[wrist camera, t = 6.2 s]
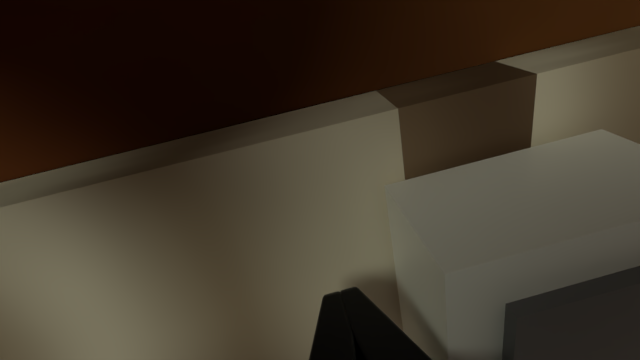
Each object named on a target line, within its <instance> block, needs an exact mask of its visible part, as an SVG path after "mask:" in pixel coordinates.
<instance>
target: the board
mask: <svg viewBox="0 0 640 360" xmlns="http://www.w3.org/2000/svg"><path fill="white" fill-rule="evenodd" d="M600 129H603V130H605V131H608V132H610V133H613V134H615V135H618V136H620V137H623V138H625V139H628V140H630V141H633V142H635V143H638V144H640V26H637V27H633V28H629V29H625V30H621V31H617V32H613V33H608V34H604V35H600V36H596V37H592V38H588V39H584V40H580V41H576V42H572V43H568V44H564V45H560V46H555V47H551V48H547V49H543V50H539V51H535V52H531V53H527V54H523V55H519V56H515V57H511V58H507V59H503V60H498V61H494V62H490V63H486V64H482V65H478V66H474V67H470V68H466V69H462V70H458V71H454V72H450V73H446V74H441V75H437V76H433V77H429V78H425V79H421V80H417V81H413V82H409V83H405V84H401V85H397V86H393V87H389V88H384V89H380V90H376V91H372V92H368V93H364V94H360V95H356V96H352V97H348V98H344V99H340V100H336V101H332V102H327V103H323V104H319V105H315V106H311V107H307V108H303V109H299V110H295V111H291V112H287V113H283V114H279V115H275V116H270V117H266V118H262V119H258V120H254V121H250V122H246V123H242V124H238V125H234V126H230V127H226V128H222V129H217V130H213V131H209V132H205V133H201V134H197V135H193V136H189V137H185V138H181V139H177V140H173V141H169V142H165V143H160V144H156V145H152V146H148V147H144V148H140V149H136V150H132V151H128V152H124V153H120V154H116V155H112V156H108V157H103V158H99V159H95V160H91V161H87V162H83V163H79V164H75V165H71V166H67V167H63V168H59V169H55V170H51V171H46V172H42V173H38V174H34V175H30V176H26V177H22V178H18V179H14V180H10V181H6V182H2V183H0V360H309V357H310V352H311V348H312V343H313V338H314V334H315V329H316V325H317V320H318V316H319V311H320V307H321V302H322V298H323V296H324V295H325V294H329V293H333V292H336V291H341V290H344V289H347V288H351V287H357V288H359V289H360V290H361V291H362V292H363V293H364V294H365V295H366V296H367V297H368V298H369V299H370V300H371V301H372V302H373V303H374V304H375V305H376V306H377V307H378V308H379V309H381V310H382V311H383V312H384V313H385V314H386V315H387V316H388V317H389V318H390V319H391V320H392V321H393V322H394V323H395V324H396V325H397V326H398V327H399V328H400V329H401V330H402V331H403V326H402V318H401V310H400V303H399V295H398V287H397V279H396V272H395V264H394V256H393V249H392V241H391V233H390V226H389V218H388V210H387V203H386V195H385V187H384V186H385V185H388V184H392V183H396V182H400V181H404V180H408V179H411V178H415V177H419V176H423V175H427V174H431V173H435V172H438V171H442V170H446V169H450V168H454V167H458V166H461V165H465V164H469V163H473V162H477V161H481V160H484V159H488V158H492V157H496V156H500V155H504V154H508V153H511V152H515V151H519V150H523V149H527V148H531V147H534V146H538V145H542V144H546V143H550V142H554V141H558V140H561V139H565V138H569V137H573V136H577V135H581V134H584V133H588V132H592V131H596V130H600Z"/></svg>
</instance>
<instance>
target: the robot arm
mask: <svg viewBox="0 0 640 360" xmlns="http://www.w3.org/2000/svg"><path fill="white" fill-rule="evenodd" d="M309 360H432V359H431V358H430V357H429V356H428V355H427V354H426V353H425V352H424V351H423V350H422V349H421V348H420V347H419V346H418V345H417V344H416V343H415V342H413V341H412V340H411V339H410V338H409V337H408V336H407V335H406V334H405V333H404V332H403V331H402V330H401V329H400V328H399V327H398V326H397V325H396V324H395V323H394V322H393V321H392V320H391V319H390V318H389V317H388V316H387V315H386V314H385V313H384V312H383V311H382V310H381V309H379V308H378V307H377V306H376V305H375V304H374V303H373V302H372V301H371V300H370V299H369V298H368V297H367V296H366V295H365V294H364V293H363V292H362V291H361V290H360V289H359V288H357V287H351V288H347V289H344V290H341V291H336V292H333V293H329V294H325V295H324V296H323V298H322V302H321V307H320V311H319V316H318V320H317V325H316V329H315V334H314V338H313V343H312V348H311V352H310V357H309Z"/></svg>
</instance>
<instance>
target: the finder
mask: <svg viewBox="0 0 640 360" xmlns="http://www.w3.org/2000/svg"><path fill="white" fill-rule="evenodd" d="M384 187H385V195H386V203H387V210H388V218H389V226H390V233H391V241H392V249H393V256H394V264H395V272H396V279H397V287H398V295H399V303H400V310H401V318H402V326H403V332H404V333H405V334H406V335H407V336H408V337H409V338H410V339H411V340H412V341H413V342H415V343H416V344H417V345H418V346H419V347H420V348H421V349H422V350H423V351H424V352H425V353H426V354H427V355H428V356H429V357H430V358H431V359H432V360H640V144H638V143H635V142H633V141H630V140H628V139H625V138H623V137H620V136H618V135H615V134H613V133H610V132H608V131H605V130H603V129H600V130H596V131H592V132H588V133H584V134H581V135H577V136H573V137H569V138H565V139H561V140H558V141H554V142H550V143H546V144H542V145H538V146H534V147H531V148H527V149H523V150H519V151H515V152H511V153H508V154H504V155H500V156H496V157H492V158H488V159H484V160H481V161H477V162H473V163H469V164H465V165H461V166H458V167H454V168H450V169H446V170H442V171H438V172H435V173H431V174H427V175H423V176H419V177H415V178H411V179H408V180H404V181H400V182H396V183H392V184H388V185H385V186H384Z"/></svg>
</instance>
